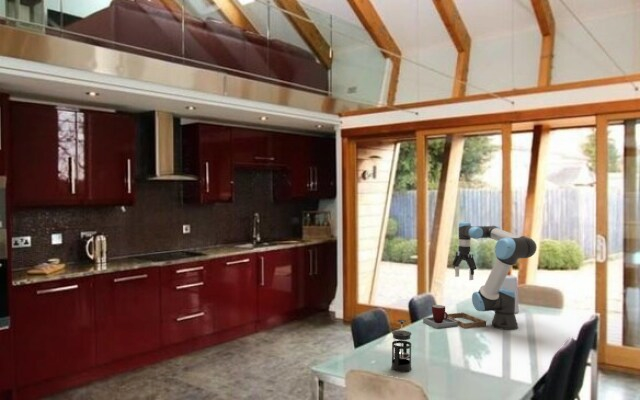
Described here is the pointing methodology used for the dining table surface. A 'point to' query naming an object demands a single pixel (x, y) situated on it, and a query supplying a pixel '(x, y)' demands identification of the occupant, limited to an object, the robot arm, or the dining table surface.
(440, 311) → the mug
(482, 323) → the brown wooden tray
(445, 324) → the tray
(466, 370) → the dining table surface
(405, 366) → the french press
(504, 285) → the plastic bottle
